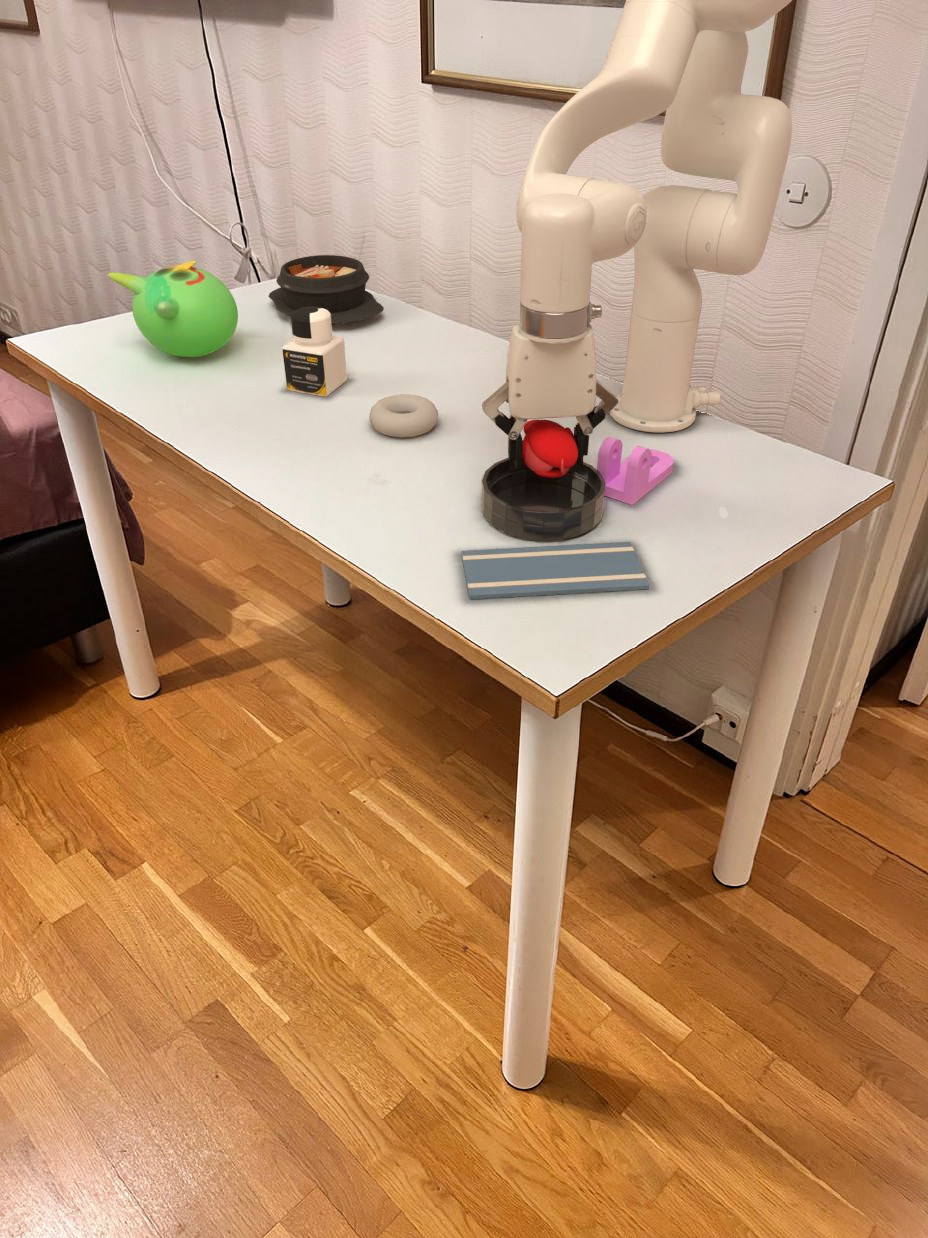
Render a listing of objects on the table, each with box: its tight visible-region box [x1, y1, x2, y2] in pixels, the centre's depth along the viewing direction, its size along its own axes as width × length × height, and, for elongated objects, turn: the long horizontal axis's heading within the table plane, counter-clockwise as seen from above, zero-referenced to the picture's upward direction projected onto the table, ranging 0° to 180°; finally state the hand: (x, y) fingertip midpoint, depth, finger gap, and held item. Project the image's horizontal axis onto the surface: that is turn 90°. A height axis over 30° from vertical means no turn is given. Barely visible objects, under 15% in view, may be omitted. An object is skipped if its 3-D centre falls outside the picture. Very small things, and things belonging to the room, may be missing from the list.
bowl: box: [481, 456, 606, 542], centre depth 116 cm, size 15×15×4 cm
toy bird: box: [107, 260, 239, 358], centre depth 155 cm, size 18×17×15 cm
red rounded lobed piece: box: [522, 418, 578, 478], centre depth 113 cm, size 8×6×6 cm
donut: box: [368, 393, 439, 438], centre depth 136 cm, size 10×4×10 cm
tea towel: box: [461, 541, 650, 601], centre depth 106 cm, size 20×9×1 cm, turn 96°
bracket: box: [596, 436, 675, 506], centre depth 122 cm, size 13×6×7 cm, turn 143°
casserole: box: [268, 254, 385, 325], centre depth 173 cm, size 25×19×8 cm
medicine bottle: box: [281, 306, 348, 398], centre depth 145 cm, size 7×7×12 cm
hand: (547, 460), depth 114 cm, fingers closed on red rounded lobed piece, 6 cm apart
